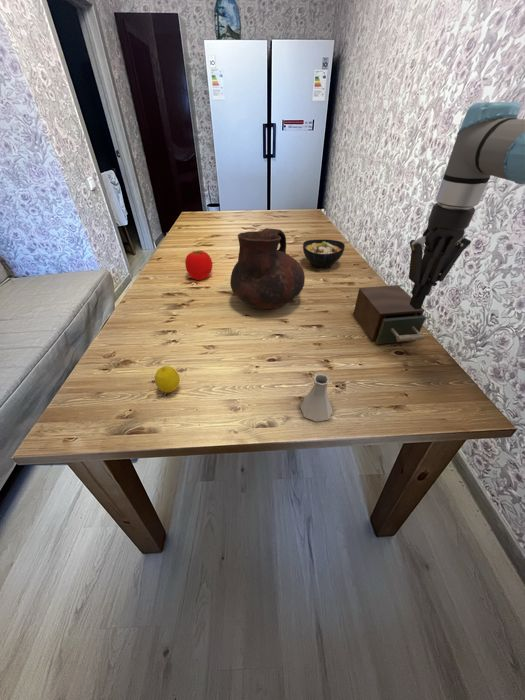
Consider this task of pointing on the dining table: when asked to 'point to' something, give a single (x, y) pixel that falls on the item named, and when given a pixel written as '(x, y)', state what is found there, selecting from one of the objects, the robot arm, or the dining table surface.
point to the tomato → (198, 264)
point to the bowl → (323, 252)
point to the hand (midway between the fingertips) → (414, 306)
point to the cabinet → (381, 306)
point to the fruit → (167, 379)
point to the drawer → (400, 328)
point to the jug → (265, 270)
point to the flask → (317, 400)
